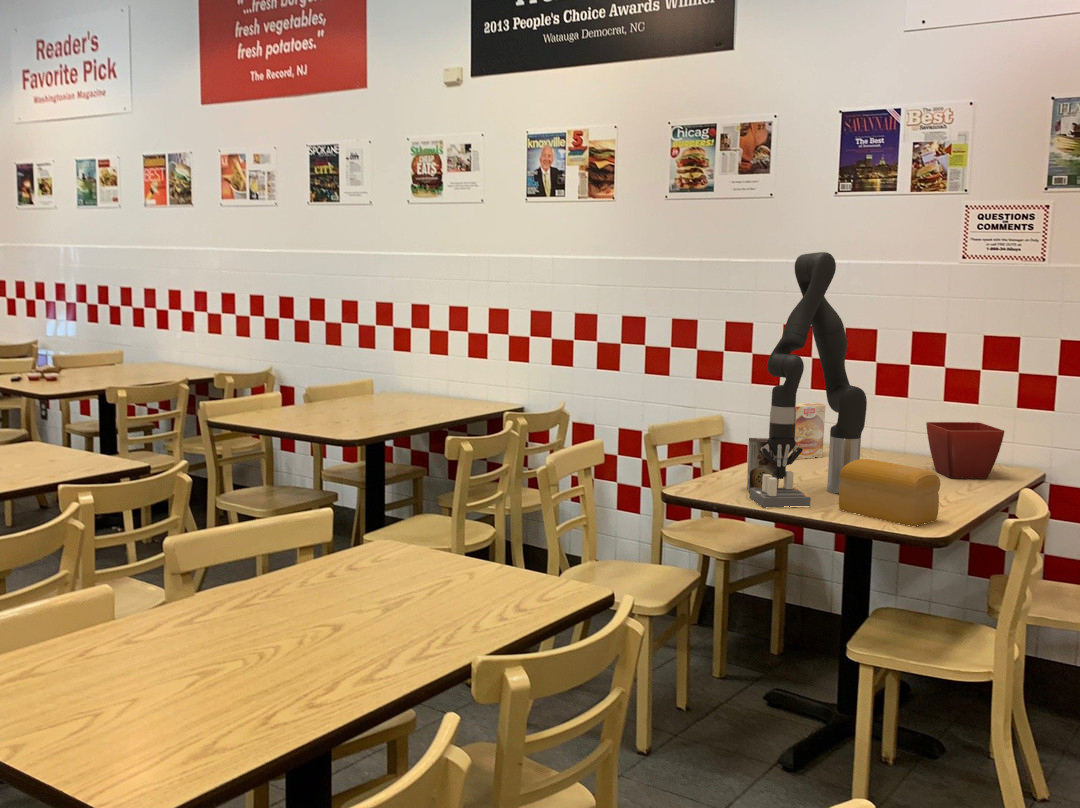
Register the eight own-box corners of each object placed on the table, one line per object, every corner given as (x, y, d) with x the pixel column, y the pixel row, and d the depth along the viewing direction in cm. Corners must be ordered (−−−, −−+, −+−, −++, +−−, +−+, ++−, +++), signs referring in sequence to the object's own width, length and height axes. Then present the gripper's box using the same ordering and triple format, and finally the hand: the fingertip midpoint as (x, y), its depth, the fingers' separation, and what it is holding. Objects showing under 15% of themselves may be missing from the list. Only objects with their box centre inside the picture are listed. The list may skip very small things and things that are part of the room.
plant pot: (921, 469, 366) (925, 421, 364) (976, 469, 367) (979, 421, 364) (944, 481, 347) (948, 430, 345) (1002, 481, 348) (1006, 431, 346)
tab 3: (789, 487, 318) (790, 470, 317) (792, 489, 315) (793, 472, 315) (783, 487, 318) (784, 470, 317) (786, 489, 315) (787, 472, 314)
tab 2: (773, 494, 308) (774, 477, 307) (776, 496, 306) (777, 479, 305) (766, 494, 308) (767, 477, 307) (769, 496, 305) (770, 479, 305)
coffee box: (775, 488, 331) (778, 438, 328) (778, 493, 324) (781, 441, 322) (746, 487, 331) (748, 437, 329) (748, 492, 325) (750, 440, 323)
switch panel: (794, 497, 319) (795, 487, 319) (810, 507, 306) (810, 497, 306) (749, 497, 318) (749, 487, 317) (763, 508, 305) (763, 497, 304)
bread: (938, 520, 294) (942, 468, 292) (914, 527, 286) (917, 473, 284) (862, 504, 313) (865, 454, 311) (836, 510, 304) (839, 459, 302)
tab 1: (768, 490, 313) (769, 474, 312) (771, 492, 310) (772, 476, 309) (761, 490, 312) (762, 474, 312) (764, 492, 310) (765, 476, 309)
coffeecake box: (790, 460, 378) (792, 406, 375) (777, 456, 384) (780, 403, 382) (823, 457, 384) (826, 404, 381) (810, 454, 390) (813, 401, 388)
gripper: (799, 419, 318) (796, 475, 320) (757, 419, 316) (754, 476, 318) (808, 423, 310) (805, 480, 313) (765, 423, 309) (762, 481, 311)
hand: (779, 478), depth 315 cm, fingers closed
